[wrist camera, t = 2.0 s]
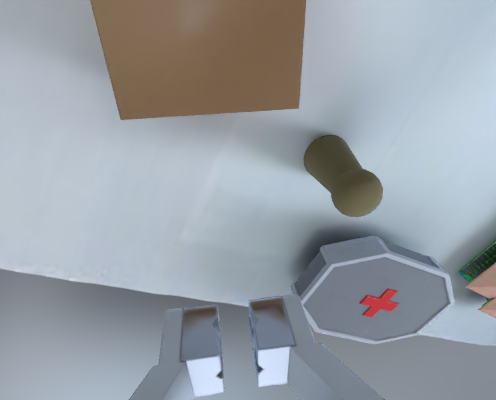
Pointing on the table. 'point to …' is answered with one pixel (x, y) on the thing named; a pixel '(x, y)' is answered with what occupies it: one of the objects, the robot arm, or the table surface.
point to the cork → (343, 176)
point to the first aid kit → (372, 291)
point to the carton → (202, 55)
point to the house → (484, 286)
